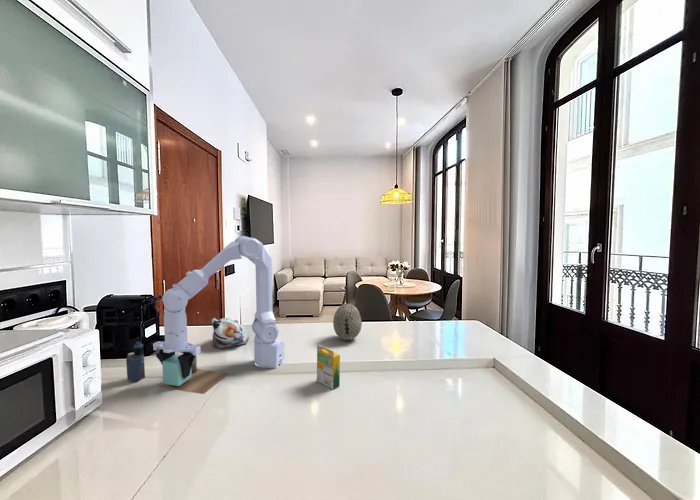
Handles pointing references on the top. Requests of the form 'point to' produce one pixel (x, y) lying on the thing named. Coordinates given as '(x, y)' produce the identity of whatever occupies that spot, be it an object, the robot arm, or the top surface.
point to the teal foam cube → (173, 371)
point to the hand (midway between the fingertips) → (177, 375)
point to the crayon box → (328, 367)
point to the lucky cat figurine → (228, 333)
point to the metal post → (194, 366)
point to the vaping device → (136, 364)
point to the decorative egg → (347, 322)
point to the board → (199, 381)
